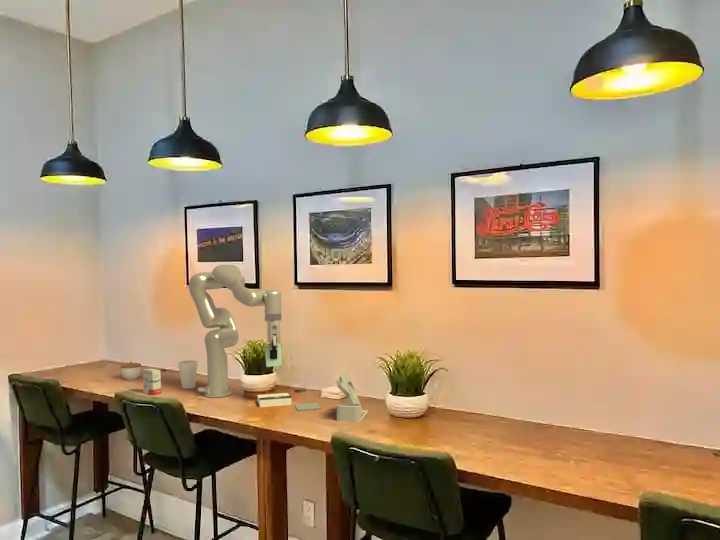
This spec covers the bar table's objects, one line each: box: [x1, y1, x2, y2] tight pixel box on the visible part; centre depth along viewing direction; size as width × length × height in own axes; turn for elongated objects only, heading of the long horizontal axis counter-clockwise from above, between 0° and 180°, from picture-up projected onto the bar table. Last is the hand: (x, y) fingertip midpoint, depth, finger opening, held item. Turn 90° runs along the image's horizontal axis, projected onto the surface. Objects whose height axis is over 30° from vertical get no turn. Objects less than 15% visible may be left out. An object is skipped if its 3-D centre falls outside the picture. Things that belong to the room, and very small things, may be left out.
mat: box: [293, 402, 322, 412], centre depth 264 cm, size 10×10×1 cm
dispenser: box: [257, 392, 292, 408], centre depth 272 cm, size 14×11×4 cm
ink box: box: [142, 367, 162, 396], centre depth 295 cm, size 9×5×12 cm, turn 51°
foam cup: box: [178, 359, 199, 389], centre depth 308 cm, size 10×9×13 cm
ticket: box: [264, 344, 283, 368], centre depth 271 cm, size 7×2×9 cm, turn 105°
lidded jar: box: [120, 361, 142, 380], centre depth 333 cm, size 11×11×9 cm
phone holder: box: [335, 369, 369, 423], centre depth 247 cm, size 17×10×18 cm, turn 167°
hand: (273, 358), depth 271 cm, fingers closed on ticket, 2 cm apart
